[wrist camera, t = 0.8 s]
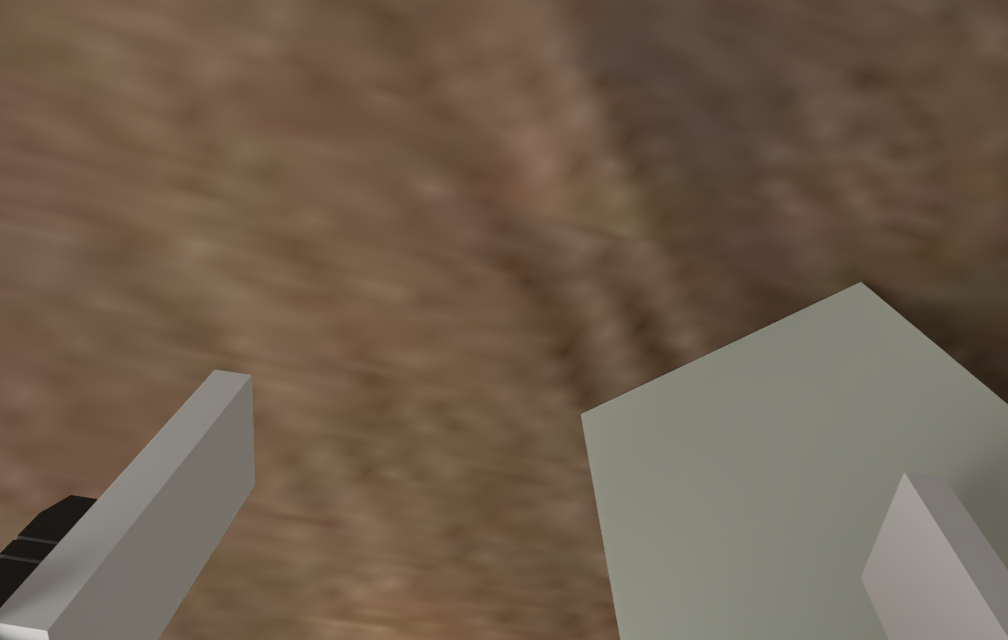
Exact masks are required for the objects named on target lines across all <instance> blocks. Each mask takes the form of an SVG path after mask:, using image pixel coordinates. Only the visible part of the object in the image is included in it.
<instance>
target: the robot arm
mask: <svg viewBox="0 0 1008 640" xmlns="http://www.w3.org/2000/svg"><path fill="white" fill-rule="evenodd" d="M254 485H255V470H254V435H253V401H252V375H248V374H241V373H234V372H227V371H221V370H214V371H213V372H212V373H211V375H210V376H209V377H208V378H207V379H206V380H205V381H204V382H203V383H202V385H201V386H200V387H199V388H198V389H197V390H196V391H195V392H194V393H193V395H192V396H191V397H190V398H189V399H188V400H187V401H186V402H185V403H184V404H183V406H182V407H181V408H180V409H179V410H178V411H177V412H176V413H175V414H174V416H173V417H172V418H171V419H170V420H169V421H168V422H167V423H166V424H165V426H164V427H163V428H162V429H161V430H160V431H159V432H158V433H157V434H156V436H155V437H154V438H153V439H152V440H151V441H150V442H149V443H148V444H147V446H146V447H145V448H144V449H143V450H142V451H141V452H140V453H139V454H138V456H137V457H136V458H135V459H134V460H133V461H132V462H131V463H130V464H129V466H128V467H127V468H126V469H125V470H124V471H123V472H122V473H121V474H120V476H119V477H118V478H117V479H116V480H115V481H114V482H113V483H112V484H111V486H110V487H109V488H108V489H107V490H106V491H105V492H104V493H103V494H102V496H101V497H100V498H99V499H93V498H87V497H80V496H74V495H70V496H69V497H67V498H65V499H63V500H62V501H60V502H58V503H56V504H55V505H53V506H51V507H49V508H48V509H46V510H44V511H42V512H41V513H39V514H38V515H37V516H36V517H35V518H34V519H33V520H32V522H31V523H30V524H29V525H28V526H27V527H26V528H25V529H24V530H23V531H22V532H21V533H20V534H19V535H18V538H17V540H13V541H12V542H11V543H10V544H9V545H8V546H7V547H6V548H5V549H4V550H3V551H2V552H1V553H0V640H158V639H159V637H160V636H161V634H162V632H163V631H164V629H165V628H166V626H167V624H168V623H169V621H170V620H171V618H172V616H173V615H174V613H175V612H176V610H177V608H178V607H179V605H180V604H181V602H182V600H183V599H184V597H185V596H186V594H187V592H188V591H189V589H190V588H191V586H192V584H193V583H194V581H195V580H196V578H197V577H198V575H199V573H200V572H201V570H202V569H203V567H204V565H205V564H206V562H207V561H208V559H209V557H210V556H211V554H212V553H213V551H214V549H215V548H216V546H217V545H218V543H219V541H220V540H221V538H222V537H223V535H224V533H225V532H226V530H227V529H228V527H229V525H230V524H231V522H232V521H233V519H234V517H235V516H236V514H237V513H238V511H239V509H240V508H241V506H242V505H243V503H244V501H245V500H246V498H247V497H248V495H249V493H250V492H251V490H252V489H253V487H254ZM861 579H862V582H863V584H864V586H865V588H866V591H867V593H868V595H869V597H870V599H871V602H872V604H873V606H874V608H875V611H876V613H877V615H878V617H879V619H880V622H881V624H882V626H883V628H884V631H885V633H886V635H887V637H888V639H889V640H1008V570H1007V568H1006V567H1005V565H1004V564H1003V562H1002V561H1001V559H1000V558H999V557H998V555H997V554H996V552H995V551H994V549H993V548H992V547H991V545H990V544H989V542H988V541H987V539H986V538H985V536H984V535H983V534H982V532H981V531H980V529H979V528H978V526H977V525H976V524H975V522H974V521H973V519H972V518H971V516H970V515H969V514H968V512H967V511H966V509H965V508H964V506H963V505H962V503H961V502H960V501H959V499H958V498H957V496H956V495H955V493H954V492H953V491H952V489H951V488H950V486H949V485H948V483H947V482H946V480H945V479H944V478H943V477H936V476H929V475H922V474H916V473H909V472H904V474H903V476H902V478H901V481H900V483H899V486H898V488H897V491H896V493H895V496H894V498H893V500H892V503H891V505H890V508H889V510H888V513H887V515H886V517H885V520H884V522H883V525H882V527H881V530H880V532H879V534H878V537H877V539H876V542H875V544H874V547H873V549H872V551H871V554H870V556H869V559H868V561H867V564H866V566H865V568H864V571H863V573H862V576H861Z"/></svg>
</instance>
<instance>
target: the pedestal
mask: <svg viewBox="0 0 1008 640" xmlns="http://www.w3.org/2000/svg"><path fill="white" fill-rule="evenodd" d="M581 419H582V424H583V430H584V436H585V441H586V447H587V453H588V458H589V464H590V470H591V475H592V481H593V487H594V492H595V498H596V504H597V509H598V515H599V521H600V527H601V532H602V538H603V544H604V549H605V555H606V561H607V566H608V572H609V578H610V583H611V589H612V595H613V600H614V606H615V612H616V617H617V623H618V629H619V635H620V640H889V639H888V637H887V635H886V633H885V631H884V628H883V626H882V624H881V622H880V619H879V617H878V615H877V613H876V611H875V608H874V606H873V604H872V602H871V599H870V597H869V595H868V593H867V591H866V588H865V586H864V584H863V582H862V579H861V576H862V573H863V571H864V568H865V566H866V564H867V561H868V559H869V556H870V554H871V551H872V549H873V547H874V544H875V542H876V539H877V537H878V534H879V532H880V530H881V527H882V525H883V522H884V520H885V517H886V515H887V513H888V510H889V508H890V505H891V503H892V500H893V498H894V496H895V493H896V491H897V488H898V486H899V483H900V481H901V478H902V476H903V474H904V472H909V473H916V474H922V475H929V476H936V477H943V478H944V479H945V480H946V482H947V483H948V485H949V486H950V488H951V489H952V491H953V492H954V493H955V495H956V496H957V498H958V499H959V501H960V502H961V503H962V505H963V506H964V508H965V509H966V511H967V512H968V514H969V515H970V516H971V518H972V519H973V521H974V522H975V524H976V525H977V526H978V528H979V529H980V531H981V532H982V534H983V535H984V536H985V538H986V539H987V541H988V542H989V544H990V545H991V547H992V548H993V549H994V551H995V552H996V554H997V555H998V557H999V558H1000V559H1001V561H1002V562H1003V564H1004V565H1005V567H1006V568H1007V570H1008V404H1007V403H1006V402H1004V401H1003V400H1002V399H1001V398H1000V397H998V396H997V395H996V394H995V393H994V392H992V391H991V390H990V389H989V388H988V387H986V386H985V385H984V384H983V383H982V382H980V381H979V380H978V379H977V378H976V377H974V376H973V375H972V374H971V373H970V372H968V371H967V370H966V369H965V368H964V367H962V366H961V365H960V364H959V363H958V362H956V361H955V360H954V359H953V358H952V357H951V356H949V355H948V354H947V353H946V352H945V351H943V350H942V349H941V348H940V347H939V346H937V345H936V344H935V343H934V342H933V341H931V340H930V339H929V338H928V337H927V336H925V335H924V334H923V333H922V332H921V331H919V330H918V329H917V328H916V327H915V326H913V325H912V324H911V323H910V322H909V321H907V320H906V319H905V318H904V317H903V316H901V315H900V314H899V313H898V312H897V311H895V310H894V309H893V308H892V307H891V306H889V305H888V304H887V303H886V302H885V301H883V300H882V299H881V298H880V297H879V296H878V295H876V294H875V293H874V292H873V291H872V290H870V289H869V288H868V287H867V286H866V285H864V284H863V283H862V282H859V283H857V284H855V285H853V286H851V287H849V288H847V289H845V290H842V291H840V292H838V293H836V294H834V295H832V296H830V297H828V298H826V299H823V300H821V301H819V302H817V303H815V304H813V305H811V306H809V307H807V308H804V309H802V310H800V311H798V312H796V313H794V314H792V315H790V316H787V317H785V318H783V319H781V320H779V321H777V322H775V323H773V324H771V325H768V326H766V327H764V328H762V329H760V330H758V331H756V332H754V333H752V334H749V335H747V336H745V337H743V338H741V339H739V340H737V341H735V342H732V343H730V344H728V345H726V346H724V347H722V348H720V349H718V350H716V351H713V352H711V353H709V354H707V355H705V356H703V357H701V358H699V359H697V360H694V361H692V362H690V363H688V364H686V365H684V366H682V367H680V368H678V369H675V370H673V371H671V372H669V373H667V374H665V375H663V376H661V377H658V378H656V379H654V380H652V381H650V382H648V383H646V384H644V385H642V386H639V387H637V388H635V389H633V390H631V391H629V392H627V393H625V394H623V395H620V396H618V397H616V398H614V399H612V400H610V401H608V402H606V403H603V404H601V405H599V406H597V407H595V408H593V409H591V410H589V411H587V412H584V413H582V414H581Z"/></svg>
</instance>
